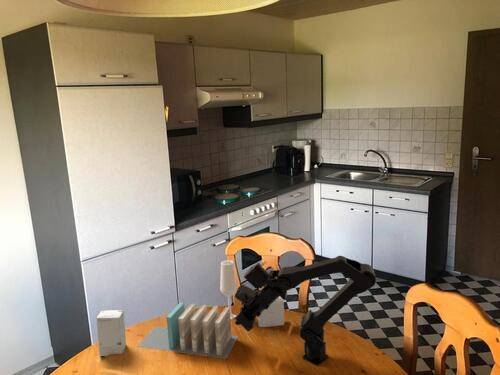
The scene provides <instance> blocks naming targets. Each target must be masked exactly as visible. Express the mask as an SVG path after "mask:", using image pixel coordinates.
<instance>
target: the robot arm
mask: <svg viewBox="0 0 500 375" xmlns="http://www.w3.org/2000/svg"><path fill="white" fill-rule="evenodd" d="M336 273H341V274H343V275H344V276H346V277H347V278H348V281H347V282H346V283H345V284H344V285H343V286H342V287H341V288H340V289H339V290H338V291H337V292H336V293H335V294H334V295H333V296H332V297H331V298H329V300H328V301H327V302H325V303H323V305H322V306H321V307H320V308H319V309H318V310H316V311H312V310H311V309H309V310H307V312H306V314H304V315H302V317H301V322H300V328H299V336H300V338H301V339H302V340H304V346H303V347H304V354H303V355H302V359H304V360H306V361H308V362H309V363H311V364H313V365H316V366H319V365H321V364H322V363H324V361H326V360H327V359H328V358H329V357H330V356H329V354H327V350H326V349H327V346H326V345H327V344H326V341H325V328H324V327H325V325H326V324H327V322H329V321H330V320H331V319H332V318H333V317H334V316H335V315H336V314H337V313H338V312H339V311H340V310H341V309H342V308H344V307H345V306H346V304H348V303H349V302H350V301H351V300H352V299H353V298H354V297H356V296H357V295H361V294H362V293H365V292H367V291H369V290H370V289H372V288H373V287H374V286H375V285H376V282H377V278H376V274H375V270H374V268H373V267H372V265H370V264H368V263H361V262H359V261H358V260H355V259H351V258H348V257H346V256H345V255H344V256H343V255H337V256H336V257H333V258H329V259H325V260H321V261H318V262H316V263H311V264H308V265H305V266H295V265H294V266H284V267H282V268H280V269H275V270H269V272H268V271H267V270H266V269H265V268H264V267H263V266H262V265H261V264H260V262H257V263H256V264H254V265H252V266H251V267H250V268H249V269H248V270H247V271H246V273H245V274H244V275H243V278H244V279H245V280H246V281H247V282H248V283H249V284H250V285H251V286H252V287H253V288H255V289H257V290H255V289H252V288H251V287H249V286H247V285H245V284H240V285H239V286H238V287H237V290H236V292H235V293H234V298H235V299H236V300H238V302H241V303H243V304H242V305H243V306H242V307H240V310H239V312H238V313H237V314H236V316H235V322H234V324H235V325H236V326H239V325H240V326H242V327H243V329H245V330H246V331H247V332H250V331H251V330H253V328H254V327H255V325H256V323H257V322H256V318H258V317H259V316H260V315H261V312H263V311H264V310H265V309H266V310H267V309H268V308H269V306H270V305H271V304H272V303H273V302H274V301H275V300H276V299H277V298H278V297H281V298H282V299H283V301H286V300H287V297H288V291H290V290H292V289H294V288H296V287H298V286H300V285H301V284H303V283H304V282H307V281H309V280H314V279H319V278H321V277H325V276H329V275H332V274H336Z"/></svg>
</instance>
